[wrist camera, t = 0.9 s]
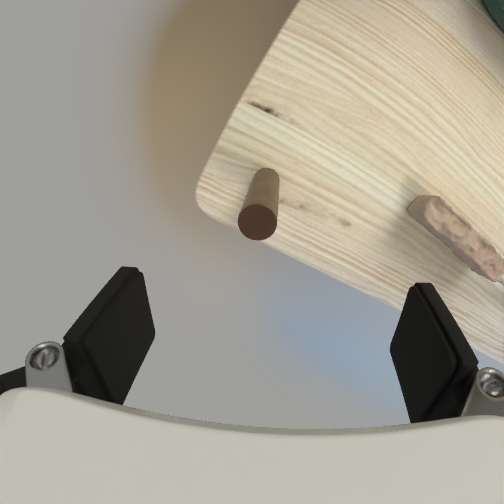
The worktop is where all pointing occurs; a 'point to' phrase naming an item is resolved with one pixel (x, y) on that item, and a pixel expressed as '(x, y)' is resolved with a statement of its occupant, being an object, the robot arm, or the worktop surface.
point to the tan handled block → (458, 236)
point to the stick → (260, 206)
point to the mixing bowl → (496, 10)
